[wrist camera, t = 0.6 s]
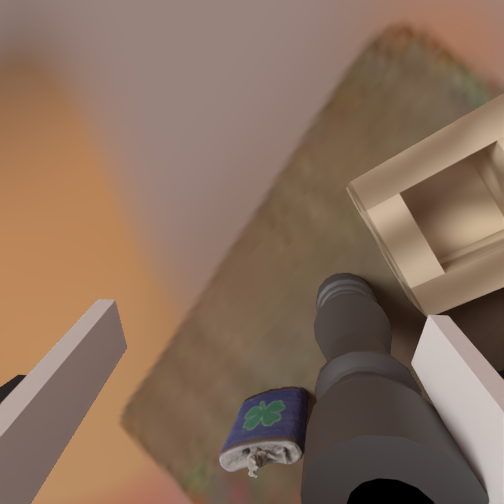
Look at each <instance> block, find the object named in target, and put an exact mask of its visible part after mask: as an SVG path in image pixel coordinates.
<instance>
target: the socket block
mask: <svg viewBox="0 0 504 504" xmlns="http://www.w3.org/2000/svg"><path fill="white" fill-rule="evenodd" d="M346 190H347V192H348V194H349V195H350V197H351V199H352V201H353V203H354V204H355V206H356V208H357V210H358V211H359V213H360V215H361V217H362V218H363V220H364V222H365V224H366V225H367V227H368V229H369V231H370V232H371V234H372V236H373V238H374V240H375V241H376V243H377V245H378V247H379V248H380V250H381V252H382V254H383V255H384V257H385V259H386V261H387V262H388V264H389V266H390V268H391V270H392V271H393V273H394V275H395V277H396V278H397V280H398V282H399V284H400V285H401V287H402V289H403V291H404V292H405V294H406V296H407V298H408V299H409V301H410V302H411V303H413V304H414V305H415V306H416V307H417V308H418V309H419V310H420V311H421V312H422V313H423V314H424V315H425V316H426V317H427V318H428V315H436V314H439V313H441V312H444V311H446V310H448V309H451V308H453V307H456V306H458V305H461V304H463V303H466V302H468V301H471V300H473V299H476V298H478V297H480V296H483V295H485V294H488V293H490V292H493V291H495V290H498V289H500V288H503V287H504V93H503V94H502V95H500V96H498V97H496V98H495V99H493V100H491V101H489V102H488V103H486V104H484V105H483V106H481V107H479V108H477V109H476V110H474V111H472V112H470V113H469V114H467V115H465V116H464V117H462V118H460V119H458V120H457V121H455V122H453V123H451V124H450V125H448V126H446V127H444V128H443V129H441V130H439V131H438V132H436V133H434V134H432V135H431V136H429V137H427V138H425V139H424V140H422V141H420V142H419V143H417V144H415V145H413V146H412V147H410V148H408V149H406V150H405V151H403V152H401V153H400V154H398V155H396V156H394V157H393V158H391V159H389V160H387V161H386V162H384V163H382V164H380V165H379V166H377V167H375V168H374V169H372V170H370V171H368V172H367V173H365V174H363V175H361V176H360V177H358V178H356V179H355V180H353V181H351V182H350V183H349V185H348V186H347V188H346Z"/></svg>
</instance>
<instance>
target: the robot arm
mask: <svg viewBox="0 0 504 504" xmlns="http://www.w3.org/2000/svg"><path fill="white" fill-rule="evenodd" d="M126 349H127V345H126V341H125V337H124V333H123V329H122V325H121V321H120V317H119V313H118V309H117V305H116V301H115V300H107V299H105V300H104V299H98V300H97V301H96V302H95V303H94V304H93V305H92V306H91V307H90V308H89V309H88V310H87V312H86V313H85V314H84V315H83V316H82V317H81V318H80V319H79V320H78V321H77V322H76V323H75V324H74V325H73V327H72V328H71V329H70V330H69V331H68V332H67V333H66V334H65V335H64V336H63V337H62V339H61V340H60V341H59V342H58V343H57V344H56V345H55V346H54V347H53V348H52V349H51V350H50V351H49V352H48V353H47V354H46V356H45V357H44V358H43V359H42V360H41V361H40V362H39V363H38V364H37V365H36V366H35V368H34V369H33V370H32V371H31V372H30V373H29V374H28V375H17V376H16V377H14V378H13V379H12V380H10V381H9V382H7V383H6V384H4V385H3V386H1V387H0V504H31V503H32V501H33V499H34V498H35V496H36V494H37V493H38V491H39V489H40V488H41V486H42V485H43V483H44V482H45V480H46V478H47V477H48V475H49V473H50V472H51V470H52V468H53V467H54V465H55V464H56V462H57V460H58V459H59V457H60V456H61V454H62V452H63V451H64V449H65V447H66V446H67V444H68V443H69V441H70V439H71V438H72V436H73V435H74V433H75V431H76V430H77V428H78V426H79V425H80V423H81V421H82V420H83V418H84V417H85V415H86V413H87V412H88V410H89V408H90V407H91V405H92V404H93V402H94V400H95V399H96V397H97V396H98V394H99V392H100V391H101V389H102V387H103V386H104V384H105V383H106V381H107V379H108V378H109V376H110V375H111V373H112V371H113V370H114V368H115V366H116V365H117V363H118V362H119V360H120V358H121V357H122V355H123V353H124V352H125V350H126ZM411 364H412V366H413V368H414V370H415V372H416V373H417V375H418V377H419V379H420V381H421V382H422V384H423V386H424V388H425V390H426V391H427V393H428V395H429V397H430V399H431V401H432V402H433V404H434V406H435V408H436V410H437V411H438V413H439V415H440V417H441V419H442V420H443V422H444V424H445V426H446V428H447V429H448V431H449V432H450V434H451V435H452V436H453V438H454V439H455V441H456V443H457V445H458V446H459V448H460V450H461V452H462V453H463V455H464V457H465V458H466V460H467V462H468V464H469V465H470V467H471V469H472V470H473V472H474V474H475V476H476V477H477V479H478V481H479V483H480V484H481V486H482V488H483V489H484V491H485V493H486V495H487V496H488V498H489V504H504V370H503V371H500V372H496V371H495V369H494V368H493V367H492V366H491V365H490V364H489V362H488V361H487V360H486V359H485V358H484V357H483V356H482V354H481V353H480V352H479V351H478V350H477V349H476V347H475V346H474V345H473V344H472V343H471V342H470V340H469V339H468V338H467V337H466V336H465V335H464V334H463V332H462V331H461V330H460V329H459V328H458V327H457V325H456V324H455V323H454V322H453V321H452V320H451V318H450V317H449V316H444V315H428V318H427V321H426V323H425V326H424V329H423V332H422V335H421V337H420V340H419V343H418V346H417V349H416V351H415V354H414V357H413V360H412V363H411Z"/></svg>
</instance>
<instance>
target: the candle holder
mask: <svg viewBox="0 0 504 504" xmlns="http://www.w3.org/2000/svg"><path fill="white" fill-rule="evenodd" d="M316 306H317V316H316V319H315V322H314V331H315V338H316V341H317V343H318V345H319V347H320V349H321V351H322V353H323V354H324V356H325V358H326V360H327V363H326V364H325V365H324V366H323V367H322V368H321V370H320V373H319V376H318V379H317V382H316V386H315V393H316V401H317V403H316V404H315V405H314V406H313V410H312V413H311V416H310V419H309V422H308V425H307V431H306V442H305V452H304V463H303V473H302V484H301V501H302V504H489V498H488V496H487V495H486V493H485V491H484V489H483V488H482V486H481V484H480V483H479V481H478V479H477V477H476V476H475V474H474V472H473V470H472V469H471V467H470V465H469V464H468V462H467V460H466V458H465V457H464V455H463V453H462V452H461V450H460V448H459V446H458V445H457V443H456V441H455V439H454V438H453V436H452V435H451V434H450V432H449V431H448V429H447V428H446V426H445V424H444V422H443V420H442V419H441V417H440V415H439V413H438V411H437V410H436V408H435V407H434V406H433V405H431V404H430V403H429V402H427V401H426V400H425V399H424V398H422V397H421V390H420V388H419V386H418V385H417V383H416V381H415V380H414V378H413V376H412V374H411V373H410V371H409V369H408V368H406V367H405V366H404V365H402V364H401V363H400V362H399V361H397V360H396V359H395V358H394V357H392V356H391V355H390V351H391V339H392V335H391V325H390V321H389V319H388V318H387V316H386V314H385V313H384V311H383V309H382V308H381V306H379V305H378V304H377V299H376V297H375V296H374V294H373V292H372V291H371V289H370V287H369V286H368V284H367V283H366V282H365V281H364V280H362V279H361V278H360V277H359V276H356V275H353V274H349V273H340V274H335V275H333V276H331V277H329V278H327V279H326V280H325V281H324V282H323V283H322V285H321V286H320V288H319V291H318V295H317V301H316Z"/></svg>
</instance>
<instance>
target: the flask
mask: <svg viewBox="0 0 504 504" xmlns="http://www.w3.org/2000/svg"><path fill="white" fill-rule="evenodd" d="M308 398H309V397H308V395H307V392H306V390H305V389H304V388H302V387H299V386H298V387H297V386H290V387H281V388H280V387H279V388H275V389H271V390H269V391H265V392H263V393H259V394H257V395H255V396H252V397H249V398H248V399H247V400H245V401H244V402H243V404H242V406H241V408H240V411H239V413H238V415H237V418H236V420H235V422H234V424H233V427H232V429H231V431H230V433H229V436H228V438H227V440H226V442H225V445H224V447H223V449H222V451H221V453H220V455H219V461H220V464H221V466H222V467H223V468H224V469H225V470H226V471H227V472H234V471H238V470H240V469H243V468H245V467H248V469H249V470H250V471H249V473H248V474H249V476H250V477H255V478H258V475H255V471H258V468H261V467H262V466H264V465H266V464H267V463H284V464H292V463H296V462H298V461H299V459H301V458H302V456H303V454H304V452H305V436H306V435H305V434H306V421H307V410H308Z"/></svg>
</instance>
